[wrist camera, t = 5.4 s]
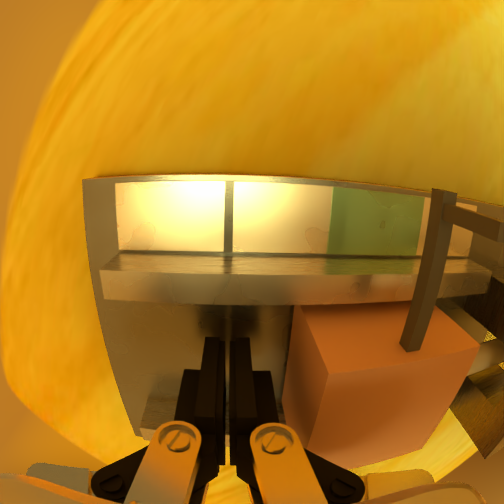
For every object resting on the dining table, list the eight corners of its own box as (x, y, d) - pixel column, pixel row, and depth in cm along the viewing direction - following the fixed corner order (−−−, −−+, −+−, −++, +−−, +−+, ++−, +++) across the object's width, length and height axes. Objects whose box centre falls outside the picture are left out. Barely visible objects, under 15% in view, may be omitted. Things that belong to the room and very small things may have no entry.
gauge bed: (505, 206, 12) (606, 246, 4) (442, 396, 16) (491, 467, 8) (96, 177, 10) (-59, 217, 3) (139, 421, 14) (113, 528, 7)
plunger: (527, 208, 10) (604, 237, 5) (481, 362, 13) (530, 415, 8) (305, 169, 9) (402, 187, 4) (281, 400, 12) (302, 508, 7)
